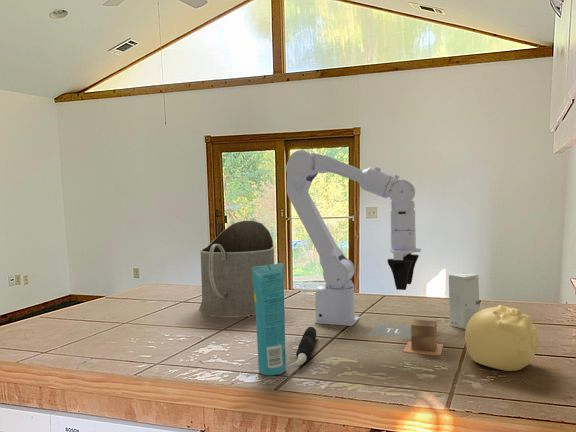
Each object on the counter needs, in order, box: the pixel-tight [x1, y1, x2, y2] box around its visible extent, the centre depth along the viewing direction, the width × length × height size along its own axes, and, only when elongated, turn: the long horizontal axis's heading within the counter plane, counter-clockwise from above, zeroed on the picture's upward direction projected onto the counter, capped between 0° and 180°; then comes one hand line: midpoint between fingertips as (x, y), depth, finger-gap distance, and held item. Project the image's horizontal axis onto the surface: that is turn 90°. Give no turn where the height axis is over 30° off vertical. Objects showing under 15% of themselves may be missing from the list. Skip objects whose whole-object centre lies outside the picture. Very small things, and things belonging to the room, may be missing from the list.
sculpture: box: [464, 304, 539, 372], centre depth 84 cm, size 12×12×11 cm
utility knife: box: [286, 326, 317, 367], centre depth 93 cm, size 22×4×3 cm, turn 172°
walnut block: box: [410, 319, 438, 352], centre depth 94 cm, size 4×4×5 cm
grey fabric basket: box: [198, 220, 275, 318], centre depth 132 cm, size 23×32×25 cm
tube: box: [252, 262, 287, 376], centre depth 84 cm, size 7×5×19 cm, turn 140°
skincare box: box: [448, 272, 480, 330], centre depth 111 cm, size 6×4×12 cm
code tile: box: [366, 323, 411, 340], centre depth 107 cm, size 10×10×1 cm
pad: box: [402, 340, 444, 357], centre depth 94 cm, size 7×7×1 cm
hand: (404, 286), depth 112 cm, fingers open, 7 cm apart
